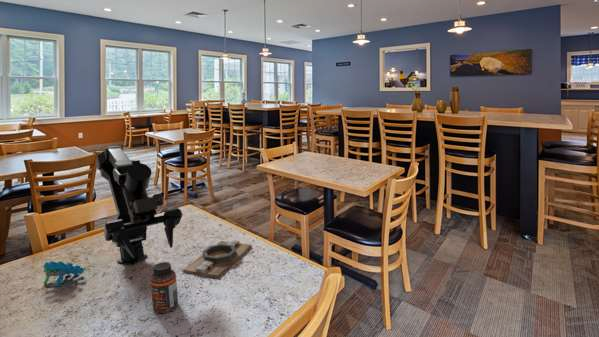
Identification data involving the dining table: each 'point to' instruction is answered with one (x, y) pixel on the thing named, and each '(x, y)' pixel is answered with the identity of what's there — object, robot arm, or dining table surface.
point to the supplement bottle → (163, 288)
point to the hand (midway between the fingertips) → (153, 251)
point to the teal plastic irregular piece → (60, 270)
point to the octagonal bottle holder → (217, 259)
